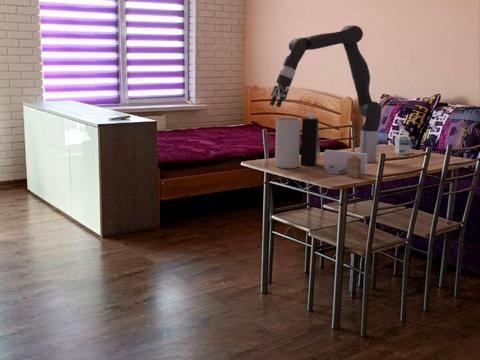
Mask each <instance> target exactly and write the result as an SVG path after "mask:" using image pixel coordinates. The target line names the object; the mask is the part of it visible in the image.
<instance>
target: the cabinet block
mask: <svg viewBox="0 0 480 360" xmlns="http://www.w3.org/2000/svg"><path fill="white" fill-rule="evenodd" d="M360 172H361V158H358V156H355V155H351V157H350V158H348V159H347V172H346V177H347V178H355V179H356V178H359V177H361V174H360Z"/></svg>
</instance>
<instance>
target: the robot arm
mask: <svg viewBox="0 0 480 360" xmlns="http://www.w3.org/2000/svg"><path fill="white" fill-rule="evenodd" d="M363 35H364V31H363V29H362V28H361V27H360V26H358V25H346V26H344V27H343V28H342V29H341V30H340V31H339V30H338V31H336V32H328V33H321V34H320V33H319V34H316V35H314V34H313V35H311V36H307V37H299V38H293V39H292V40H290V42H289V44H288V50H289V51H290V52H289V54H288V55H287V56H286V57H285V60H284V62H283V65H282V66H281V68H280V71H279V74H278V76H277V79H276V82H275V83H277V84H278V85H275V84H274V87H273V88H272V91H271V94H270V97H271V99H270V103H269V105H270V106H273V107H274V105H275V107H277V108H280V107H281V106H282V103H283V101H284V100H286V99H287V96H288V93H289V91H290V89H289V88H290V87H291V85H292V82H293V79H294V77H295V74H296V72H297V68H298V65H299V63H300V62H301V59H302V58H303V56H304V55H305V52H306V51H308V50H309V51H310V50H311V51H312V50H314V51H315V50H319V49H323V48H327V47H330V46H331V47H332V46H335V45H340V44H341V45H342V44H343V48H344V50H345V53H346V56H347V57H346V58H347V60H348V64H349V68H350V73H351V77H352V80H353V85H354V88H355V92H356V96H357V101H358V102H357V103H358V108H359V113H360V115H361V116H363V117H364V118H365V120H364V123H363V124H361V126H360V141H359V143H360V144H359V153H364V154H367V164H368V163H371V164H372V163H376V162H377V153H378V136H379V127H380V126H381V119H382V118H381V117H382V107H381V105H380V103H379V102H377V101H373V100H372V98H371V94H370V83H371V73H370V69H369V66H368V63H367V62H366V59H365V58H364V56H363V54H362V53H361V52H360V50H359V47H358V43H359V42H360V41H362V38H363ZM277 98H278V99H277ZM276 101H277V102H276Z"/></svg>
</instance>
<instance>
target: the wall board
mask: <svg viewBox="0 0 480 360" xmlns="http://www.w3.org/2000/svg"><path fill="white" fill-rule="evenodd" d="M351 155H355V156H358V158H361V172H360V175H366V174H367V169H368V168H367V166H368V165H367V164H368V162H367V154H364V153H360V152H353V151H345V150H334V149H325V150H324V165H323V174H331V175H339V176H341V175H342V174H345V173H347V159H348V158H350V157H351Z"/></svg>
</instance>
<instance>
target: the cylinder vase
mask: <svg viewBox="0 0 480 360" xmlns="http://www.w3.org/2000/svg"><path fill="white" fill-rule="evenodd" d="M275 121H276V122H275V146H274V147H275V150H274V151H275V152H274V153H275V154H274V165H275V167H277V168H278V169H279V168H280V169H296V168H298V167H299V165H300V148H301V147H300V144H301V143H300V142H301V141H300V140H301V122H302V118H298V117H277V118H276V119H275Z"/></svg>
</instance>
